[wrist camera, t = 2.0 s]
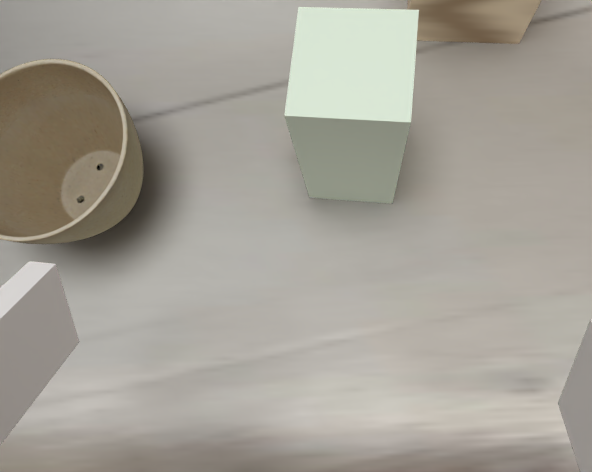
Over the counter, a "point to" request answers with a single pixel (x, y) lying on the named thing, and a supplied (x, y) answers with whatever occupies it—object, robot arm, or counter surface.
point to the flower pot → (64, 154)
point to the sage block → (351, 99)
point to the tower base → (473, 20)
